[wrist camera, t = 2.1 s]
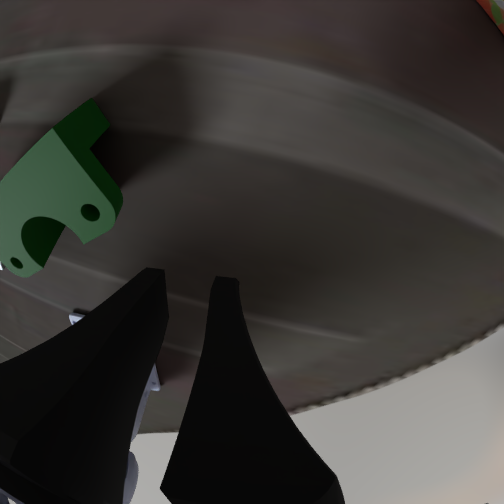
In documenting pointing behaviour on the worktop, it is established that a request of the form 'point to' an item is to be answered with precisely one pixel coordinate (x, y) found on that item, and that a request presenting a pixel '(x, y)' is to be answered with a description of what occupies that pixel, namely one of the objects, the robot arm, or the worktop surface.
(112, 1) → the worktop surface
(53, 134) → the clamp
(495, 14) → the cracker box
